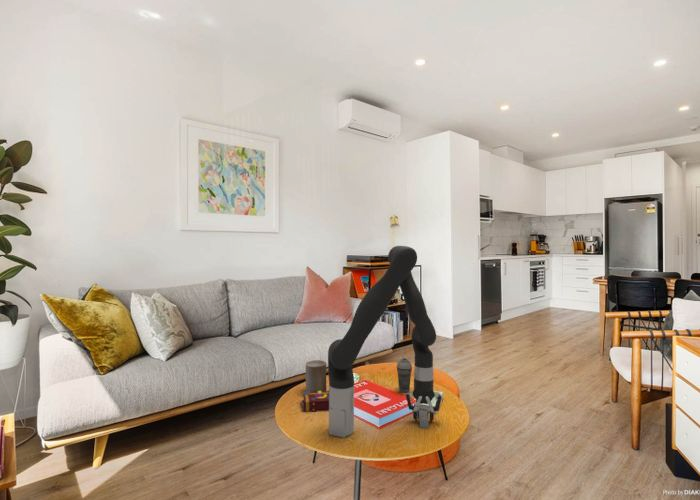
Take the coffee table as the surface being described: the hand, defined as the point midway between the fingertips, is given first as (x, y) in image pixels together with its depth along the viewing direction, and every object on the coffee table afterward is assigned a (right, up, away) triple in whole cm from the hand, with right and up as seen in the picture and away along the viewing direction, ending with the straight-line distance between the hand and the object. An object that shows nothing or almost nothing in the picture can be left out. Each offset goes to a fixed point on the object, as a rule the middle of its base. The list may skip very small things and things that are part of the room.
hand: (423, 420), depth 152 cm
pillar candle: (-44, 0, +30) cm, 54 cm away
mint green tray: (+5, 0, +17) cm, 18 cm away
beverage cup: (-3, 0, +30) cm, 31 cm away
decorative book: (-42, -1, +15) cm, 44 cm away
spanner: (0, -1, 0) cm, 1 cm away
